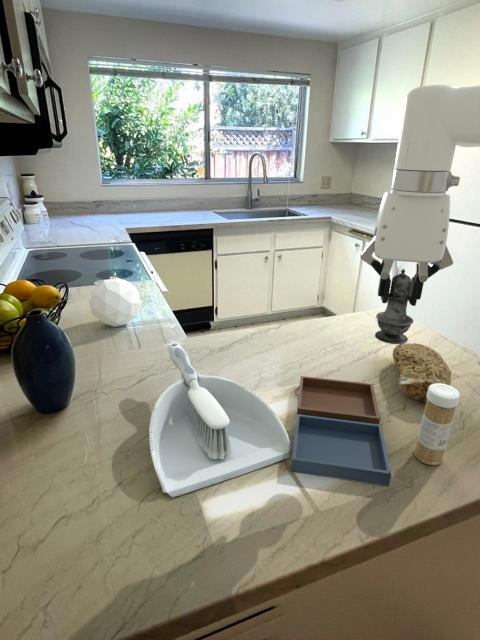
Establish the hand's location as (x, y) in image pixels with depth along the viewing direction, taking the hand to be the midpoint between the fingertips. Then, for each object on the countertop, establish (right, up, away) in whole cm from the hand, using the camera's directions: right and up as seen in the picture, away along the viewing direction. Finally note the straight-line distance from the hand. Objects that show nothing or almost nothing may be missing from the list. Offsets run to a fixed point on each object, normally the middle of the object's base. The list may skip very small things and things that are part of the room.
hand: (397, 300), depth 66 cm
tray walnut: (-6, -21, +16) cm, 27 cm away
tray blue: (-9, -26, +3) cm, 28 cm away
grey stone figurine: (0, -6, +3) cm, 7 cm away
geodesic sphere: (-62, -4, +53) cm, 81 cm away
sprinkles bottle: (+6, -27, +3) cm, 28 cm away
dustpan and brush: (-34, -22, +12) cm, 42 cm away
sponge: (+14, -17, +25) cm, 34 cm away
